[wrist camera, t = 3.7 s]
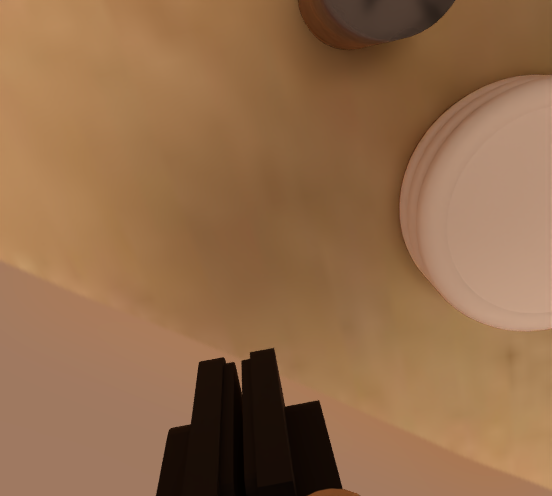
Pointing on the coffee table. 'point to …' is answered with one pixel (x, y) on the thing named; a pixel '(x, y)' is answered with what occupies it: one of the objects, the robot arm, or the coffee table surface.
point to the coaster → (487, 204)
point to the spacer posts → (369, 20)
